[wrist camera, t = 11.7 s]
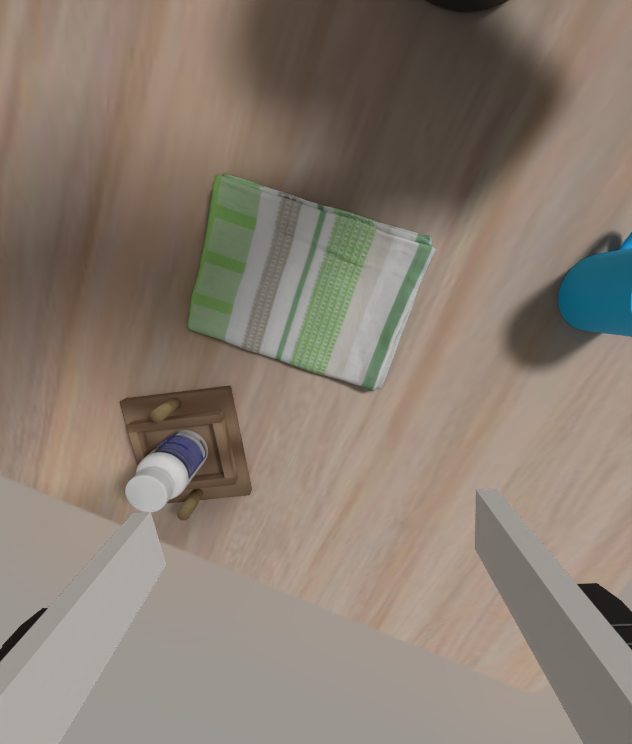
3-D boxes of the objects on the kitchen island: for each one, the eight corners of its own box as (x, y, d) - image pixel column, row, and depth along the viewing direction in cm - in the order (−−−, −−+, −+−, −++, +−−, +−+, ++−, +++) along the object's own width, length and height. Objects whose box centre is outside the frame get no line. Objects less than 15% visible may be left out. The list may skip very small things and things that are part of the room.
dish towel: (377, 390, 37) (383, 400, 33) (189, 332, 36) (175, 335, 32) (433, 243, 33) (446, 236, 29) (223, 173, 32) (211, 157, 28)
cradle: (126, 398, 37) (94, 414, 32) (230, 385, 37) (215, 399, 31) (155, 499, 41) (130, 527, 35) (251, 489, 40) (241, 517, 35)
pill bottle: (171, 422, 37) (124, 460, 28) (214, 437, 37) (180, 479, 28) (161, 460, 38) (112, 508, 29) (202, 474, 38) (166, 525, 29)
